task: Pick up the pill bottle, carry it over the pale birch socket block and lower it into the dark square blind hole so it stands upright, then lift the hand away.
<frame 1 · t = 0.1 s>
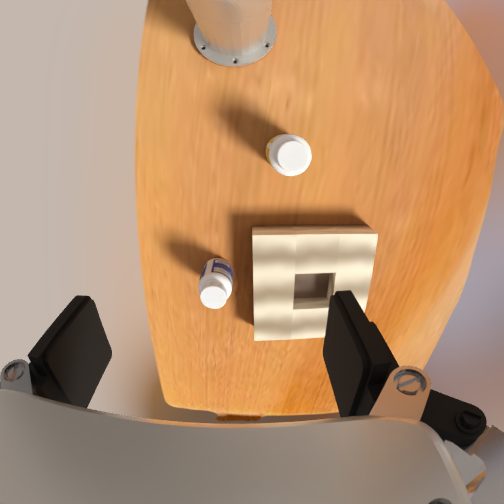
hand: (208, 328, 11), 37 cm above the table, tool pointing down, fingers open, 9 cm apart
socket block: (309, 278, 51), on the table
supplement bottle: (283, 151, 43), on the table
pill bottle: (218, 270, 51), on the table
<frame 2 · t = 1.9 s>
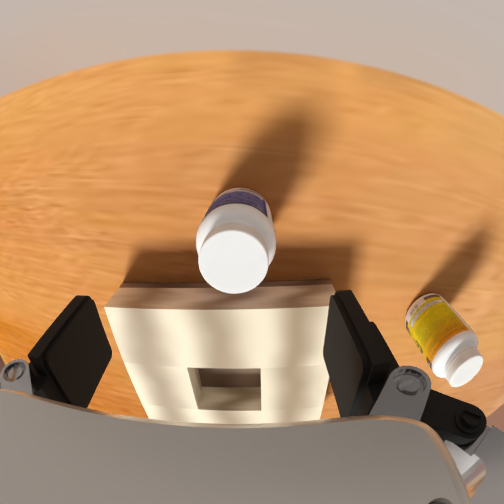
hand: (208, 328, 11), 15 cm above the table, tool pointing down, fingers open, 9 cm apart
socket block: (229, 361, 31), on the table
supplement bottle: (422, 311, 28), on the table
pill bottle: (240, 217, 25), on the table
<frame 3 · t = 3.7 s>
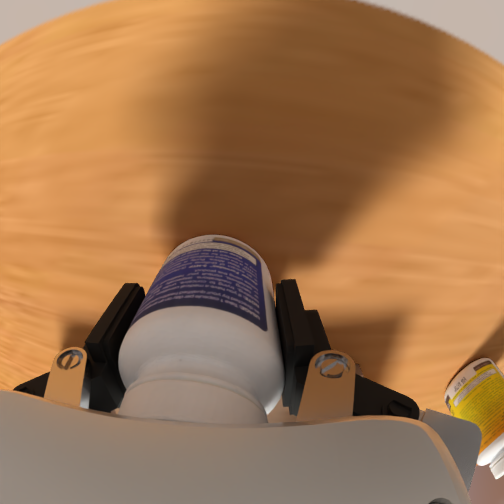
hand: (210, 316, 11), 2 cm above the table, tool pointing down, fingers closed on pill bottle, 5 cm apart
socket block: (213, 449, 20), on the table
supplement bottle: (466, 377, 18), on the table
pill bottle: (216, 283, 14), on the table, touching gripper
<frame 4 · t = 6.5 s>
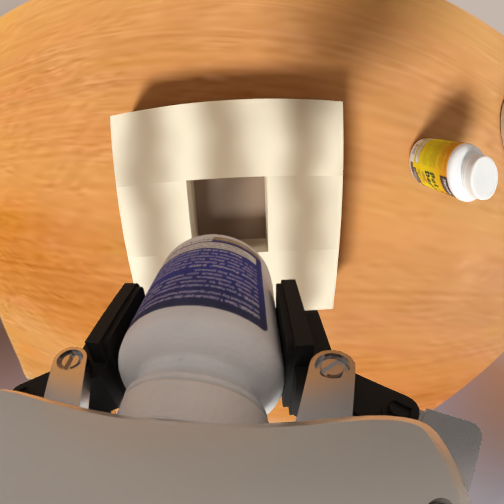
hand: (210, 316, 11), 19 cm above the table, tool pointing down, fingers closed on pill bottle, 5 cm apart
socket block: (230, 204, 29), on the table
supplement bottle: (425, 161, 28), on the table
pill bottle: (216, 283, 14), point 17 cm above the table, touching gripper
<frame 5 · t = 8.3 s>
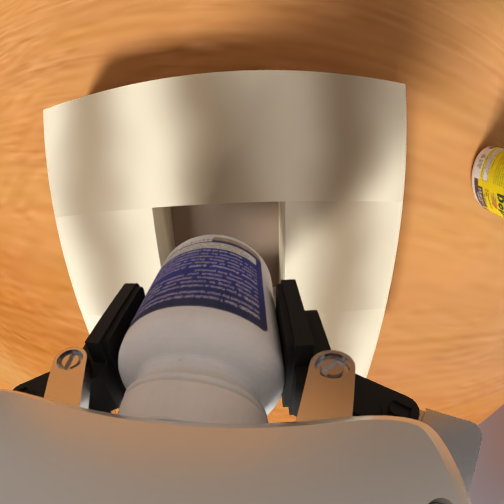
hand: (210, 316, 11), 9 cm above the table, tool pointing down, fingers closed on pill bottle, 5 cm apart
socket block: (227, 237, 20), on the table
supplement bottle: (487, 176, 18), on the table
pill bottle: (216, 283, 14), point 6 cm above the table, touching gripper
when the fingers open (5 cm above the table, at t = 9.5 s): pill bottle drops 2 cm, resting on socket block.
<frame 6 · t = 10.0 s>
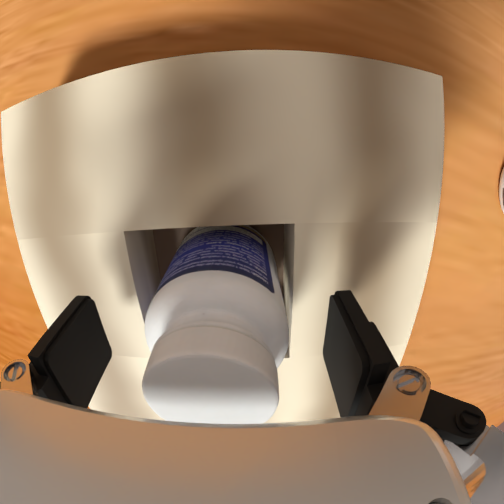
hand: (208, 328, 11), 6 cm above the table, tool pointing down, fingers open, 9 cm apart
socket block: (221, 259, 16), on the table
pill bottle: (225, 264, 16), point 1 cm above the table, touching socket block
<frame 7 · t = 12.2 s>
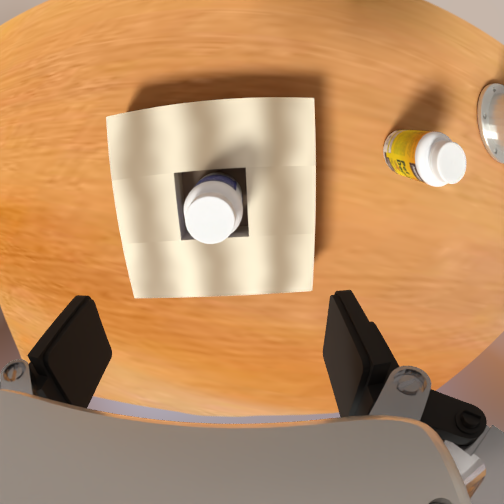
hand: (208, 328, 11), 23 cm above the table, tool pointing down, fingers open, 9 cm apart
socket block: (215, 195, 32), on the table
supplement bottle: (400, 151, 30), on the table
pill bottle: (218, 196, 31), point 1 cm above the table, touching socket block
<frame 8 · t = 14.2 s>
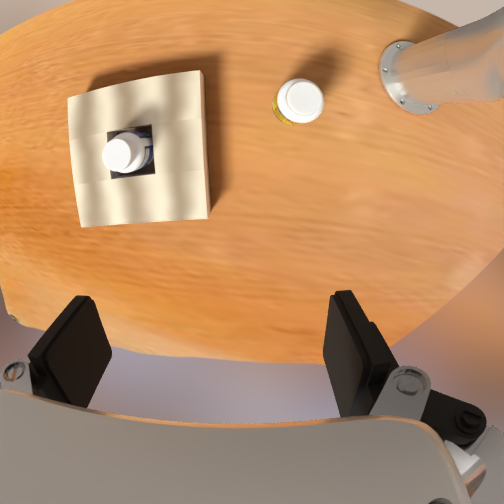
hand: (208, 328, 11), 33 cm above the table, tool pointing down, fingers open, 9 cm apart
socket block: (141, 149, 39), on the table
supplement bottle: (291, 106, 37), on the table
pill bottle: (141, 149, 38), point 1 cm above the table, touching socket block
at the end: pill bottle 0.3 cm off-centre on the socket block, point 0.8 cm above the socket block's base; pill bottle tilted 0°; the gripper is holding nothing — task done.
